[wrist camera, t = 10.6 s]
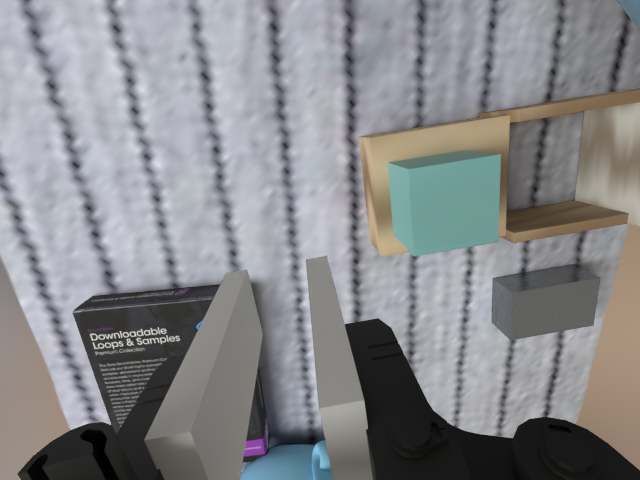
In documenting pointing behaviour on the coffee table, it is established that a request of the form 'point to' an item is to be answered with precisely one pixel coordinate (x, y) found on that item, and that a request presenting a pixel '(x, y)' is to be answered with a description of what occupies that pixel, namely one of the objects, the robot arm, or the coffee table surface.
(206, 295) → the box
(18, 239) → the coffee table surface
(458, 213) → the block
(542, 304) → the dark grey block
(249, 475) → the decorative pot
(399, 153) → the drawer
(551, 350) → the coffee table surface
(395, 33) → the coffee table surface
